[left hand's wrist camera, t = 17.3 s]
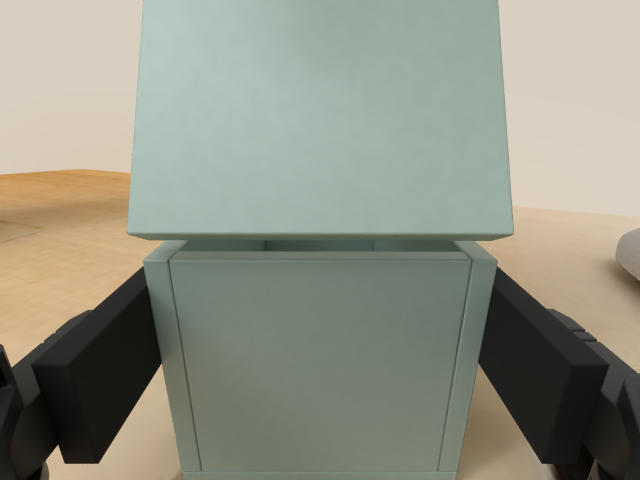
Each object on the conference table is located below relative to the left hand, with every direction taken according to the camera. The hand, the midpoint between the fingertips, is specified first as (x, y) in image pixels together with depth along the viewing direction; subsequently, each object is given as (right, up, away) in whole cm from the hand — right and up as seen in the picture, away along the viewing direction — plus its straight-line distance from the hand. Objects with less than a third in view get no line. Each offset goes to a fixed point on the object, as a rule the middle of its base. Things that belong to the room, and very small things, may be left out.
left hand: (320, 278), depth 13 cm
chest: (0, -5, +8) cm, 9 cm away
